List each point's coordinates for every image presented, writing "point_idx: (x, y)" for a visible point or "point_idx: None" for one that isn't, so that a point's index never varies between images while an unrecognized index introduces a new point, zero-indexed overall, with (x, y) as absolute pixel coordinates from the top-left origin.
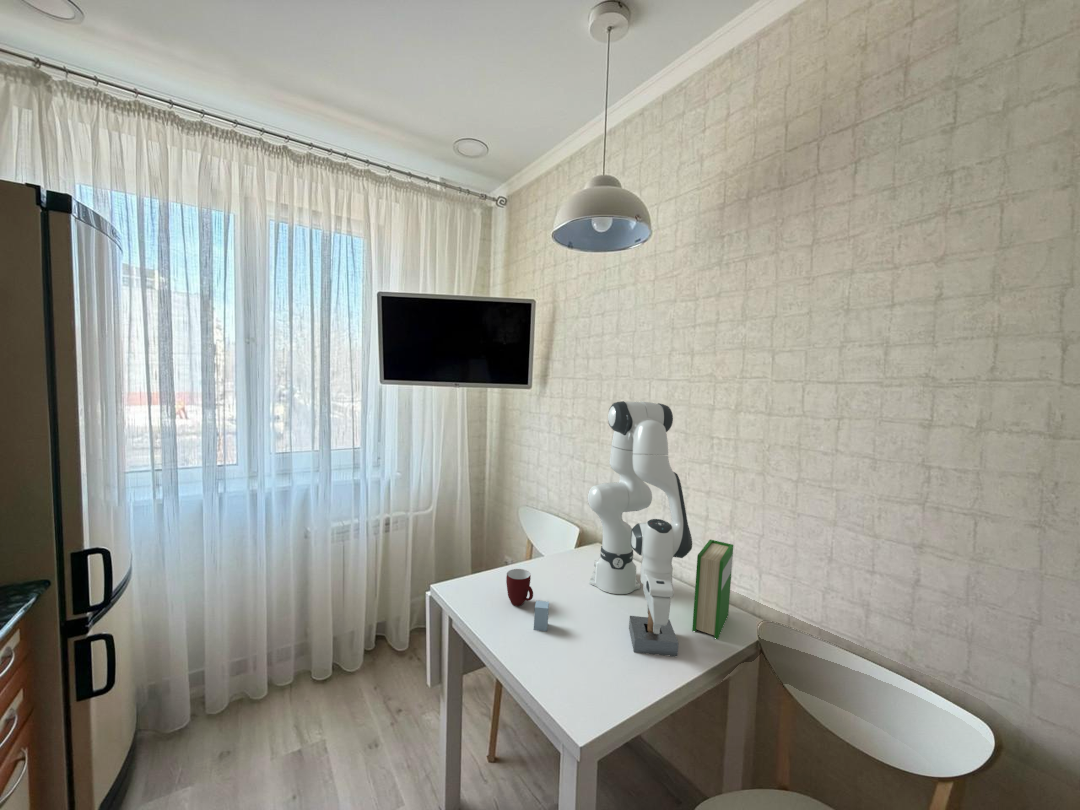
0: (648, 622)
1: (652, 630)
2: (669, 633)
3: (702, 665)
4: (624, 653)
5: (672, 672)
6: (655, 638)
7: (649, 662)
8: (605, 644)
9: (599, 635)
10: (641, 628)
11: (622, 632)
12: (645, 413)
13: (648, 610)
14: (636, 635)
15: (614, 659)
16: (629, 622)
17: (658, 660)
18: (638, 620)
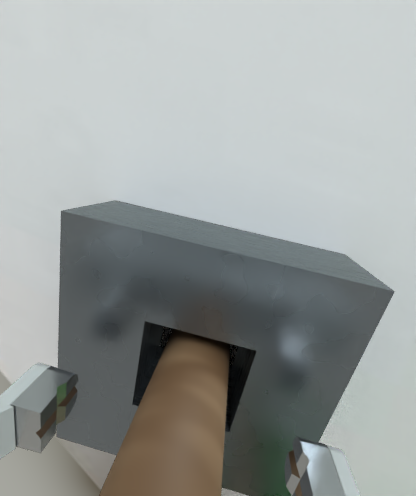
0: (172, 389)
1: (156, 368)
2: None
3: None
4: (102, 142)
5: (3, 314)
6: (78, 347)
7: (48, 248)
8: (184, 30)
9: (295, 3)
10: (190, 309)
11: (307, 198)
12: None
13: (309, 488)
14: (98, 238)
15: (43, 58)
16: (354, 267)
17: None
18: (303, 331)
